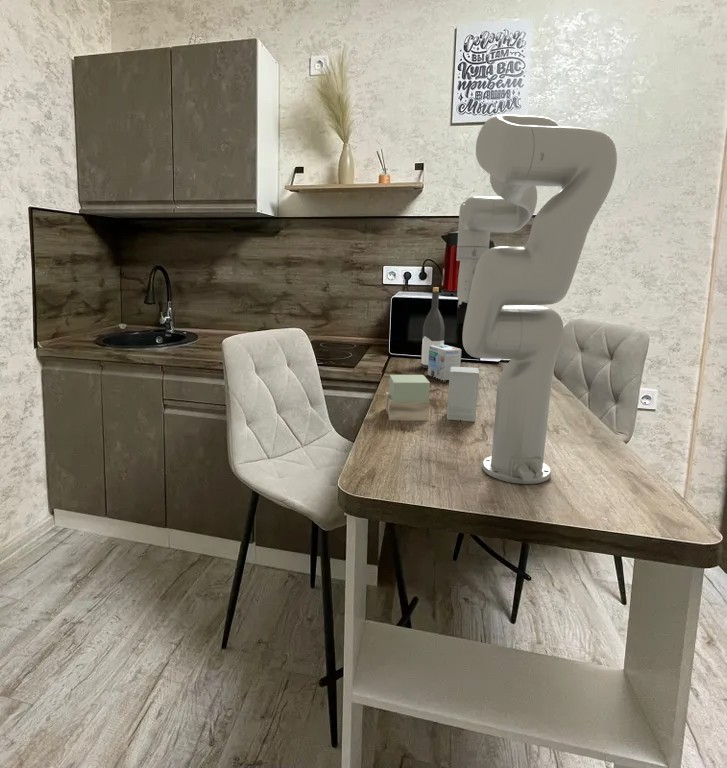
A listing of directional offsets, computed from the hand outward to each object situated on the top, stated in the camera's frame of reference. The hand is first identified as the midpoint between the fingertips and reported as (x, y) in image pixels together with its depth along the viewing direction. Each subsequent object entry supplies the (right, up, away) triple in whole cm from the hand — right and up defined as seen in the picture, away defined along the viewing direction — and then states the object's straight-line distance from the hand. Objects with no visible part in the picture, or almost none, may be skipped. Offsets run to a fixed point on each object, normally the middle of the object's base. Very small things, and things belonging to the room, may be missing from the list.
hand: (467, 325), depth 129 cm
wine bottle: (0, -8, +68) cm, 68 cm away
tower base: (-15, -23, +7) cm, 28 cm away
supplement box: (-1, -23, +5) cm, 24 cm away
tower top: (-14, -18, +5) cm, 24 cm away
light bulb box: (+2, -12, +51) cm, 53 cm away
